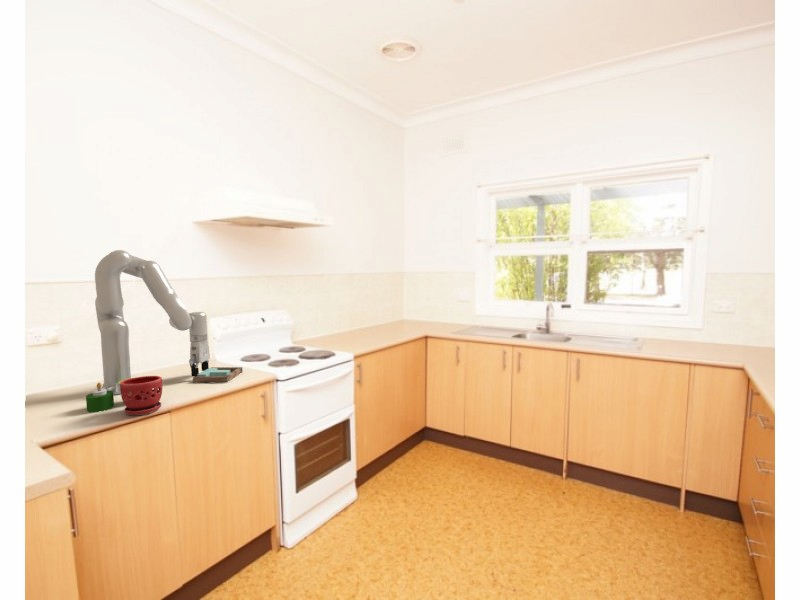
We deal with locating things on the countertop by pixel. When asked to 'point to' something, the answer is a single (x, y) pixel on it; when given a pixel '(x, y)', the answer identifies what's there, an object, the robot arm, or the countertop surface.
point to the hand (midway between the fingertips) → (200, 373)
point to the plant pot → (141, 394)
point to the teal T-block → (214, 372)
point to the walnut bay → (233, 373)
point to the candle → (99, 400)
